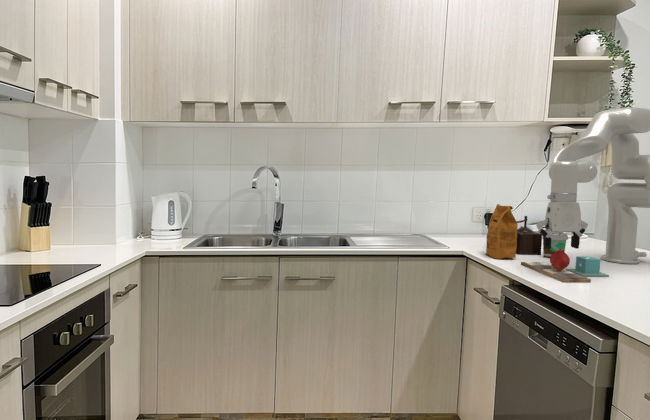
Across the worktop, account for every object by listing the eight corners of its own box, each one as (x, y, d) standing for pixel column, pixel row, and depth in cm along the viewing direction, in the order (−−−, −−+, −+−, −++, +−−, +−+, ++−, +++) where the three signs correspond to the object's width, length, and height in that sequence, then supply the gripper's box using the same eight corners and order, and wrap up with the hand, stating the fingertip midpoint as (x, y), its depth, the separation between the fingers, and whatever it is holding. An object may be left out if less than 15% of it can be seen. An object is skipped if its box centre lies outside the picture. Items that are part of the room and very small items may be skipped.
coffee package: (505, 254, 169) (508, 203, 168) (518, 260, 157) (522, 205, 155) (482, 253, 170) (484, 203, 168) (494, 259, 157) (496, 205, 155)
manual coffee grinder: (529, 250, 179) (531, 211, 178) (541, 255, 168) (544, 213, 166) (495, 249, 180) (497, 211, 178) (505, 254, 169) (507, 213, 167)
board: (543, 264, 149) (544, 261, 149) (590, 282, 124) (591, 278, 124) (520, 264, 149) (521, 261, 149) (563, 282, 124) (563, 278, 124)
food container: (555, 260, 158) (557, 235, 157) (541, 257, 163) (542, 233, 162) (573, 257, 163) (575, 234, 163) (559, 255, 169) (560, 232, 168)
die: (589, 270, 138) (590, 256, 138) (599, 273, 133) (600, 259, 133) (575, 270, 138) (576, 256, 138) (584, 273, 133) (585, 259, 133)
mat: (589, 270, 141) (589, 268, 141) (608, 276, 132) (609, 275, 132) (565, 270, 140) (565, 268, 140) (583, 276, 131) (583, 275, 131)
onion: (545, 269, 136) (546, 246, 136) (561, 269, 137) (562, 246, 136) (556, 273, 131) (558, 249, 130) (572, 273, 131) (574, 249, 130)
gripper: (544, 199, 127) (542, 250, 129) (596, 198, 128) (593, 249, 130) (532, 197, 135) (530, 246, 137) (580, 197, 136) (578, 245, 137)
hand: (560, 248), depth 133 cm, fingers open, 9 cm apart
